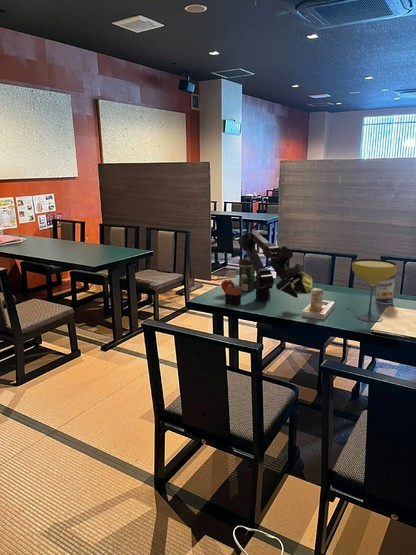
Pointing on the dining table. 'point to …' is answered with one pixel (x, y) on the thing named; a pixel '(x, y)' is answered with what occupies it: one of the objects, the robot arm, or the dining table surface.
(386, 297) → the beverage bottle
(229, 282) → the strawberry
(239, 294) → the battery
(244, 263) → the coffee jar
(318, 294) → the peg
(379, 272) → the cocktail glass
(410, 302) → the dining table surface
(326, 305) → the white flat box
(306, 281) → the plastic component
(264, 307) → the dining table surface
